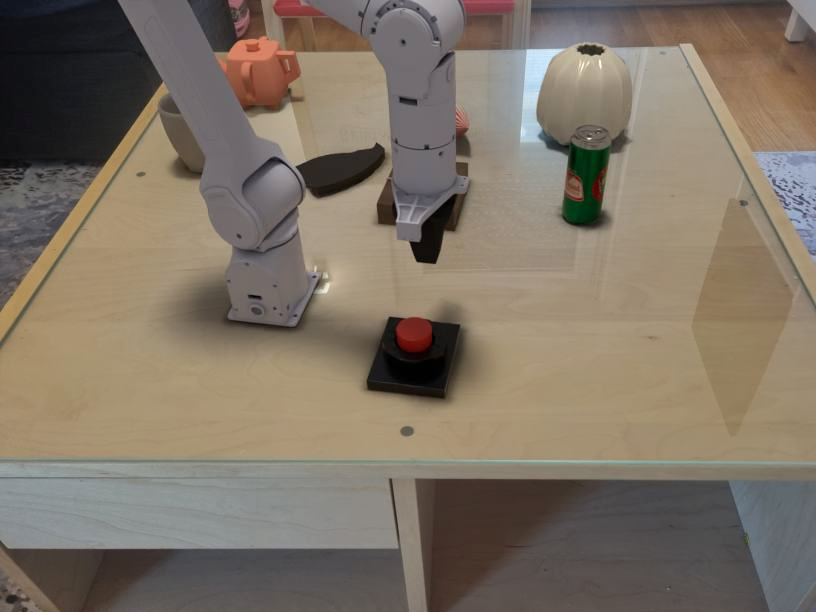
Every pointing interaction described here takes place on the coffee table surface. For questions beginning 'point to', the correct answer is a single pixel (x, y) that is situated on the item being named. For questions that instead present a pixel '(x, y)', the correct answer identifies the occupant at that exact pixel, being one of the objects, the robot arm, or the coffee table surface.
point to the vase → (584, 92)
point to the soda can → (586, 174)
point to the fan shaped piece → (340, 169)
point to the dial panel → (387, 200)
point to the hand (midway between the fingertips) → (427, 259)
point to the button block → (415, 362)
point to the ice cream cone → (461, 121)
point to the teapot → (260, 71)
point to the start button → (414, 334)
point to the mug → (180, 134)
